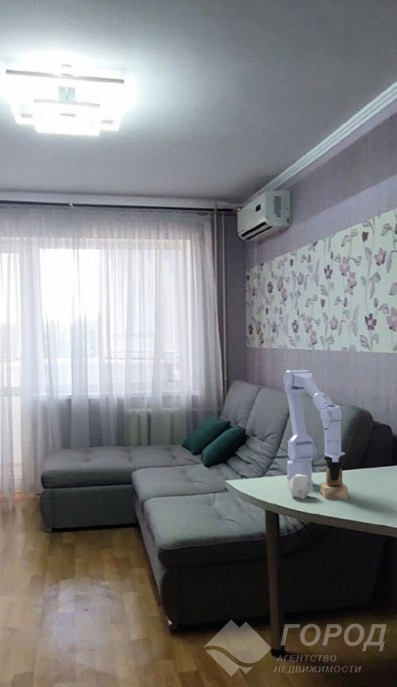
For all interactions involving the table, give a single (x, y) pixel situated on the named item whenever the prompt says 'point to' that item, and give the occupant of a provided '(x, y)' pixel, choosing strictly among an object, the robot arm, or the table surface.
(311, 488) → the white faceted polyhedron
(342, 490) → the oak block
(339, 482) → the walnut cube
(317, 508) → the table surface
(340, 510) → the table surface
